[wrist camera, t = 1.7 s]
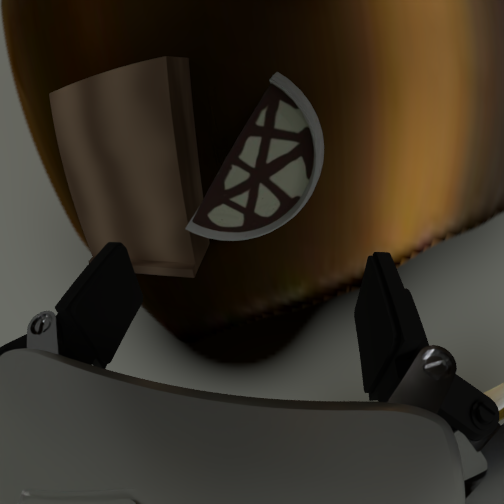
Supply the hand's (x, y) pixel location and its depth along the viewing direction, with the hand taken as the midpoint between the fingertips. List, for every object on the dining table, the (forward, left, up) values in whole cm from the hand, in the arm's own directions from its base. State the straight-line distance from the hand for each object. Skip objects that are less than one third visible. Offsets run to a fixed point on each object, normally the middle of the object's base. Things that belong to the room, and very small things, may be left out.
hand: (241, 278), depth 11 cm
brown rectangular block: (+14, +1, -18) cm, 23 cm away
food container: (0, 0, -18) cm, 18 cm away
